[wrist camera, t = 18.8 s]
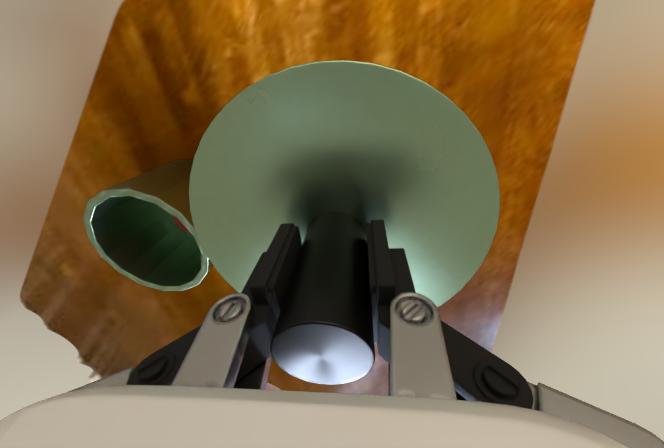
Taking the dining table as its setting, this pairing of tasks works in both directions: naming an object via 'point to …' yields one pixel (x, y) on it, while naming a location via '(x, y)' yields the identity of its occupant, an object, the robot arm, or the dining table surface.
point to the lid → (343, 199)
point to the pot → (149, 229)
